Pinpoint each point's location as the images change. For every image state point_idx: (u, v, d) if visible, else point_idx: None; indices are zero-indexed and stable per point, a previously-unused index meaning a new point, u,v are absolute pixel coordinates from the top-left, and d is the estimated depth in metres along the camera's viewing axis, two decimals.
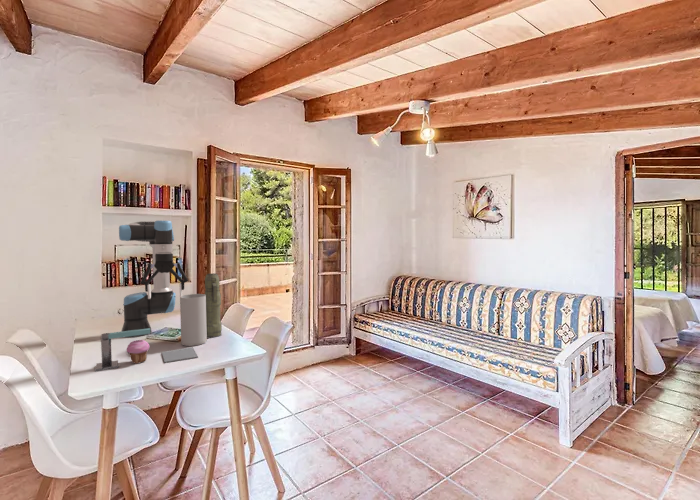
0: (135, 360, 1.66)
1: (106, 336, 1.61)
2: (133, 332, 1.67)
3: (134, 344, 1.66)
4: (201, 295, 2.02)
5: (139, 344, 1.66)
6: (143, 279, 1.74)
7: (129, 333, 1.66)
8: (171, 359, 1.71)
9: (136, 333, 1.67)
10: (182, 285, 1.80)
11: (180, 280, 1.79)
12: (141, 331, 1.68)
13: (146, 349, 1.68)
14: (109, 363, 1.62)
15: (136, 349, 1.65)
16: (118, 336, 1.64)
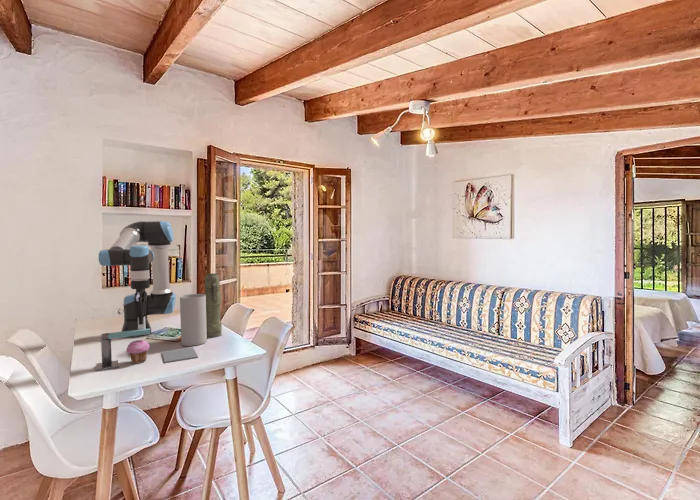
0: (135, 360, 1.66)
1: (106, 336, 1.61)
2: (133, 332, 1.67)
3: (134, 344, 1.66)
4: (201, 295, 2.02)
5: (139, 344, 1.66)
6: None
7: (129, 333, 1.66)
8: (171, 359, 1.71)
9: (136, 333, 1.67)
10: None
11: None
12: (141, 331, 1.68)
13: (146, 349, 1.68)
14: (109, 363, 1.62)
15: (136, 349, 1.65)
16: (118, 336, 1.64)
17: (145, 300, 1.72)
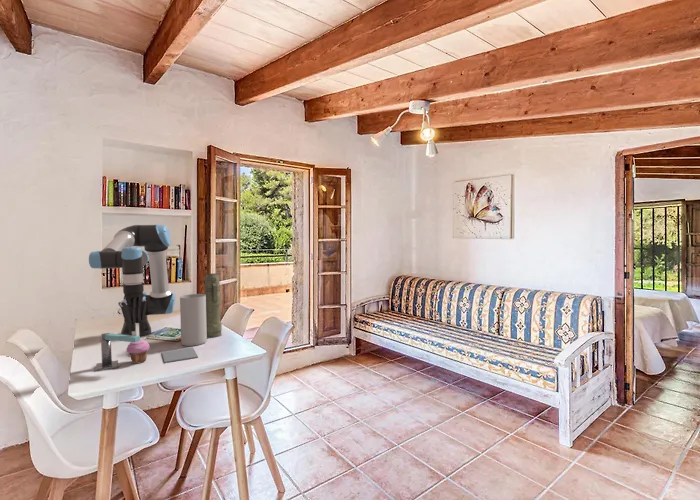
0: (135, 360, 1.66)
1: (103, 336, 1.61)
2: (122, 337, 1.59)
3: (134, 344, 1.66)
4: (201, 295, 2.02)
5: (139, 344, 1.66)
6: None
7: (119, 338, 1.59)
8: (171, 359, 1.71)
9: (124, 339, 1.58)
10: None
11: None
12: (128, 338, 1.58)
13: (146, 349, 1.68)
14: (109, 363, 1.62)
15: (136, 349, 1.65)
16: (111, 338, 1.60)
17: (138, 306, 1.60)
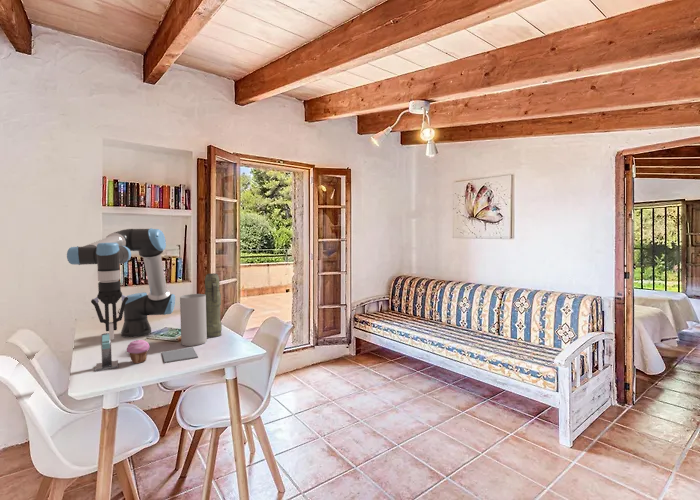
0: (135, 360, 1.66)
1: (101, 336, 1.61)
2: (102, 341, 1.53)
3: (134, 344, 1.66)
4: (201, 295, 2.02)
5: (139, 344, 1.66)
6: None
7: None
8: (171, 359, 1.71)
9: None
10: None
11: None
12: (102, 343, 1.51)
13: (146, 349, 1.68)
14: (109, 363, 1.62)
15: (136, 349, 1.65)
16: None
17: (112, 305, 1.50)
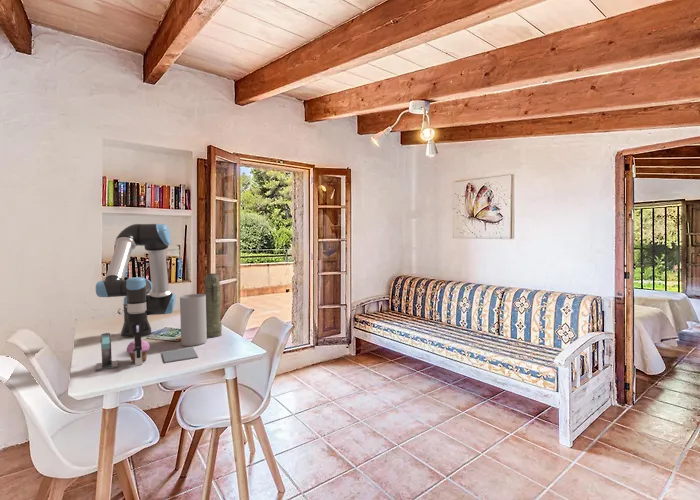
0: None
1: (101, 336, 1.61)
2: (102, 341, 1.53)
3: (134, 344, 1.66)
4: (201, 295, 2.02)
5: None
6: None
7: None
8: (171, 359, 1.71)
9: None
10: (136, 353, 1.64)
11: None
12: (102, 343, 1.51)
13: (146, 349, 1.68)
14: (109, 363, 1.62)
15: None
16: None
17: None
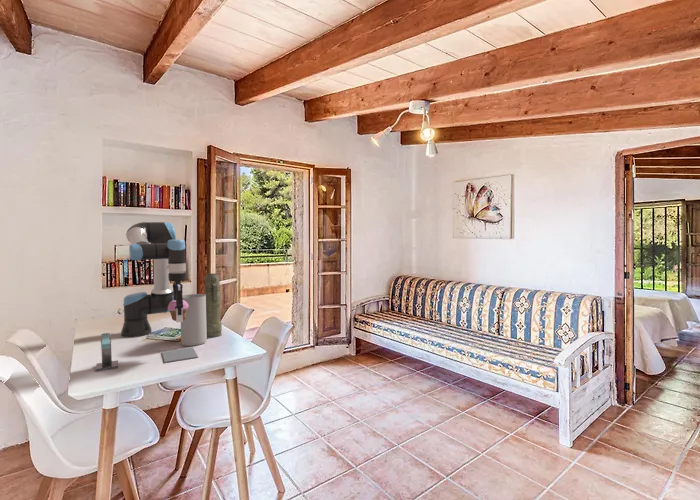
0: None
1: (101, 336, 1.61)
2: (102, 341, 1.53)
3: (175, 302, 1.74)
4: (201, 295, 2.02)
5: None
6: (173, 298, 1.82)
7: None
8: (171, 359, 1.71)
9: None
10: (177, 310, 1.72)
11: (176, 304, 1.72)
12: (102, 343, 1.51)
13: (186, 308, 1.76)
14: (109, 363, 1.62)
15: None
16: None
17: None
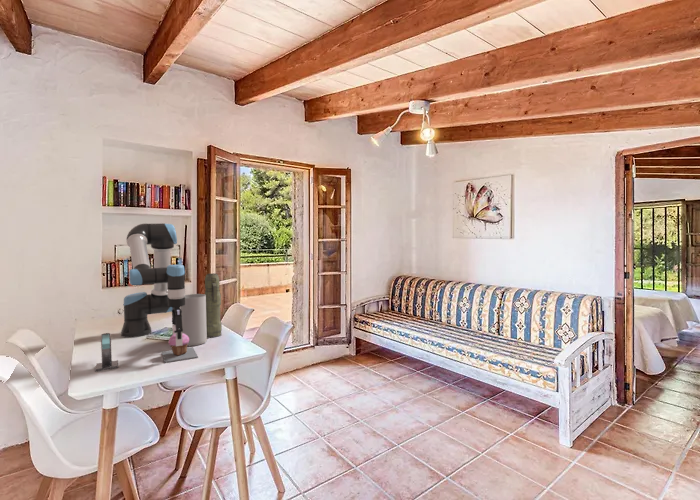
0: (177, 352, 1.75)
1: (101, 336, 1.61)
2: (102, 341, 1.53)
3: None
4: (201, 295, 2.02)
5: None
6: (172, 318, 1.85)
7: None
8: (171, 359, 1.71)
9: None
10: (177, 334, 1.71)
11: None
12: (102, 343, 1.51)
13: (187, 342, 1.77)
14: (109, 363, 1.62)
15: None
16: None
17: None
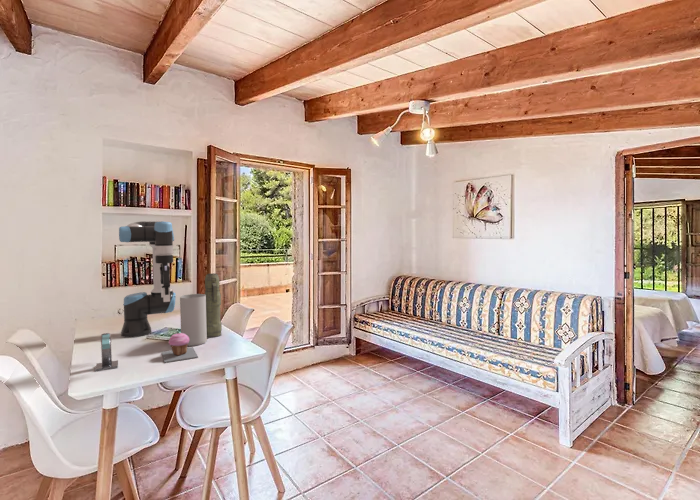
0: (177, 352, 1.75)
1: (101, 336, 1.61)
2: (102, 341, 1.53)
3: (176, 337, 1.74)
4: (201, 295, 2.02)
5: (181, 337, 1.75)
6: None
7: None
8: (171, 359, 1.71)
9: None
10: (164, 290, 1.70)
11: (163, 284, 1.71)
12: (102, 343, 1.51)
13: (187, 342, 1.77)
14: (109, 363, 1.62)
15: (178, 342, 1.73)
16: None
17: None
